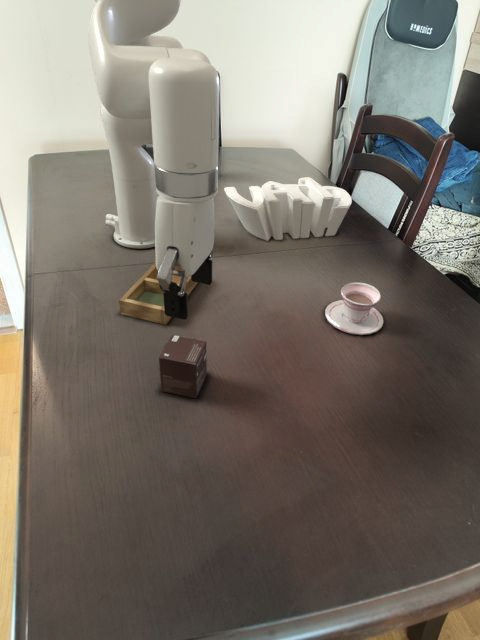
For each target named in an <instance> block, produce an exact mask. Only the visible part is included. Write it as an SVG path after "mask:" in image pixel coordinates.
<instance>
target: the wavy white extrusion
mask: <svg viewBox="0 0 480 640" xmlns="http://www.w3.org/2000/svg"><path fill="white" fill-rule="evenodd" d="M248 189H249V193H250V196H251V199H252V201H250V200H248V199H246V198H245V197H243V196H242V195H240V193H238V190H237V188H236V187H235V186H225V187H224V188H223V190H224V193H225V195H226V197H227V199H228V200H229V202H230V204H231V206H232V208H233V210H234V212H235V214H236V215H237V217H238V220H239V221H240V222H241V225H242V226H243V227H244V229H245V230H246V231H247V232H249V233H250V234H251V235H253V236H255V237H256V238H259V239H261V240H264V241H267V242H269V240H270V239H271V238H273V239H274V240H275V241H280V240H283V239H284V234H287V233H288V235H290V236H291V238H292V239H307V238H310V233H311V234H312V235H313V237H314V238H320V237H324V236H325V237H333V236H335V235H336V234H337V232H338V230H339V229H340V227H341V224H342V222H343V220H344V218H345V216H347V213H348V210H349V209H350V207H351V205H352V202H353V199H352V196H351V195H350V194H349V192H347V190H345V189H344V188H342V187H337V186H333V185H332V186H331V185H321V184H320V183H318V182H317V181H315V180H314V179H313V178H312V177H310V176H307V177H306V176H305V177H304V176H303V177H300V178H299V179H298V182H297V183H288V184H287V183H285V184H283V183H280V182H277V181H272V180H269V181H266V182H265V183H264V184H262V185H261V187H260V186H259V185H250V186H248ZM325 230H326V231H325Z"/></svg>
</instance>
